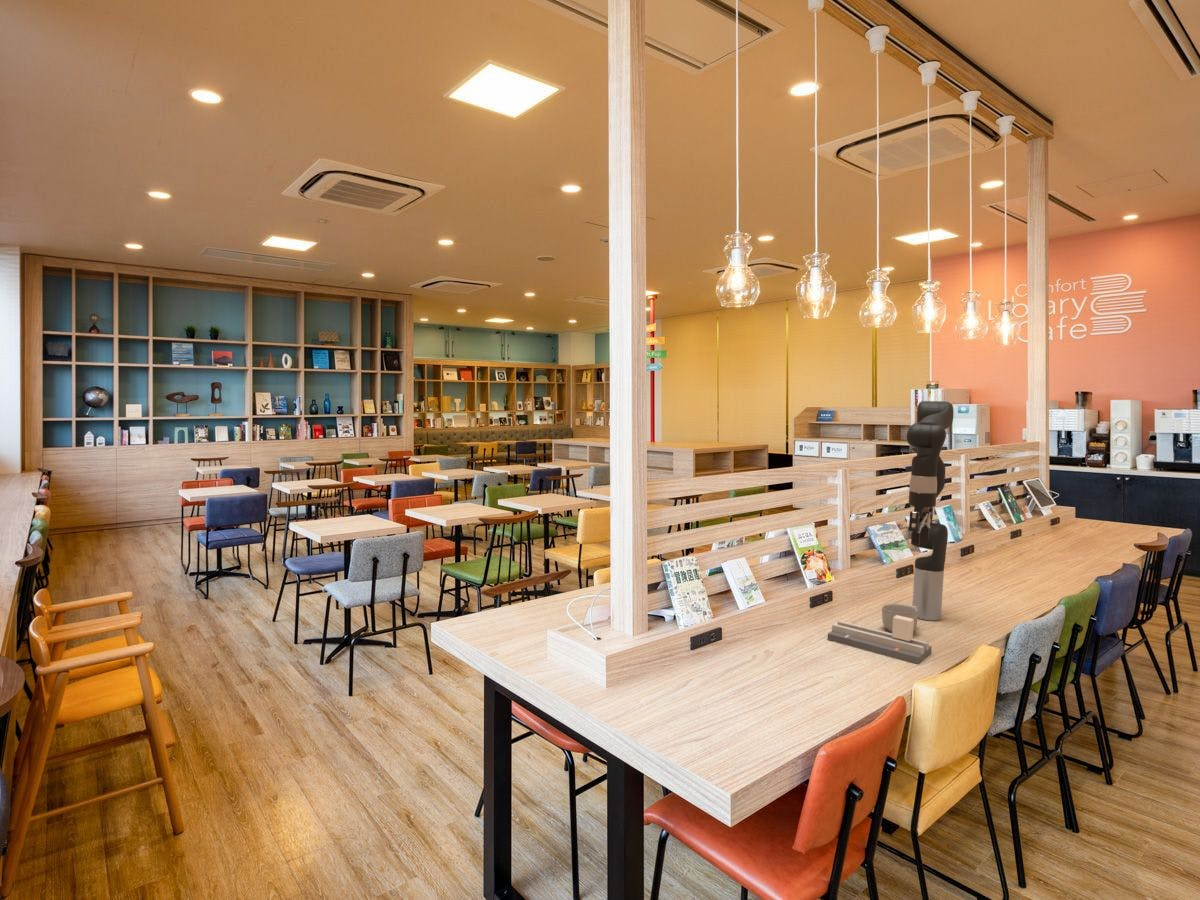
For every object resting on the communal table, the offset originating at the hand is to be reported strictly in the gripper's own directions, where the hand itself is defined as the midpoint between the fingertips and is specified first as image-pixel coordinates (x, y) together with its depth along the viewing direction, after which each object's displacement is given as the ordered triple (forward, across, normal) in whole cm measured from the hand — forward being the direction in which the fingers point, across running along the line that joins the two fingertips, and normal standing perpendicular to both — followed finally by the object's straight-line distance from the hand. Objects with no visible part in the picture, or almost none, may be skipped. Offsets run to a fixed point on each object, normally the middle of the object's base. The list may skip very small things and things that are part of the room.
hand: (919, 542), depth 206 cm
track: (+32, +9, -8) cm, 34 cm away
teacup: (+32, -11, -7) cm, 35 cm away
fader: (+30, +9, -1) cm, 31 cm away
